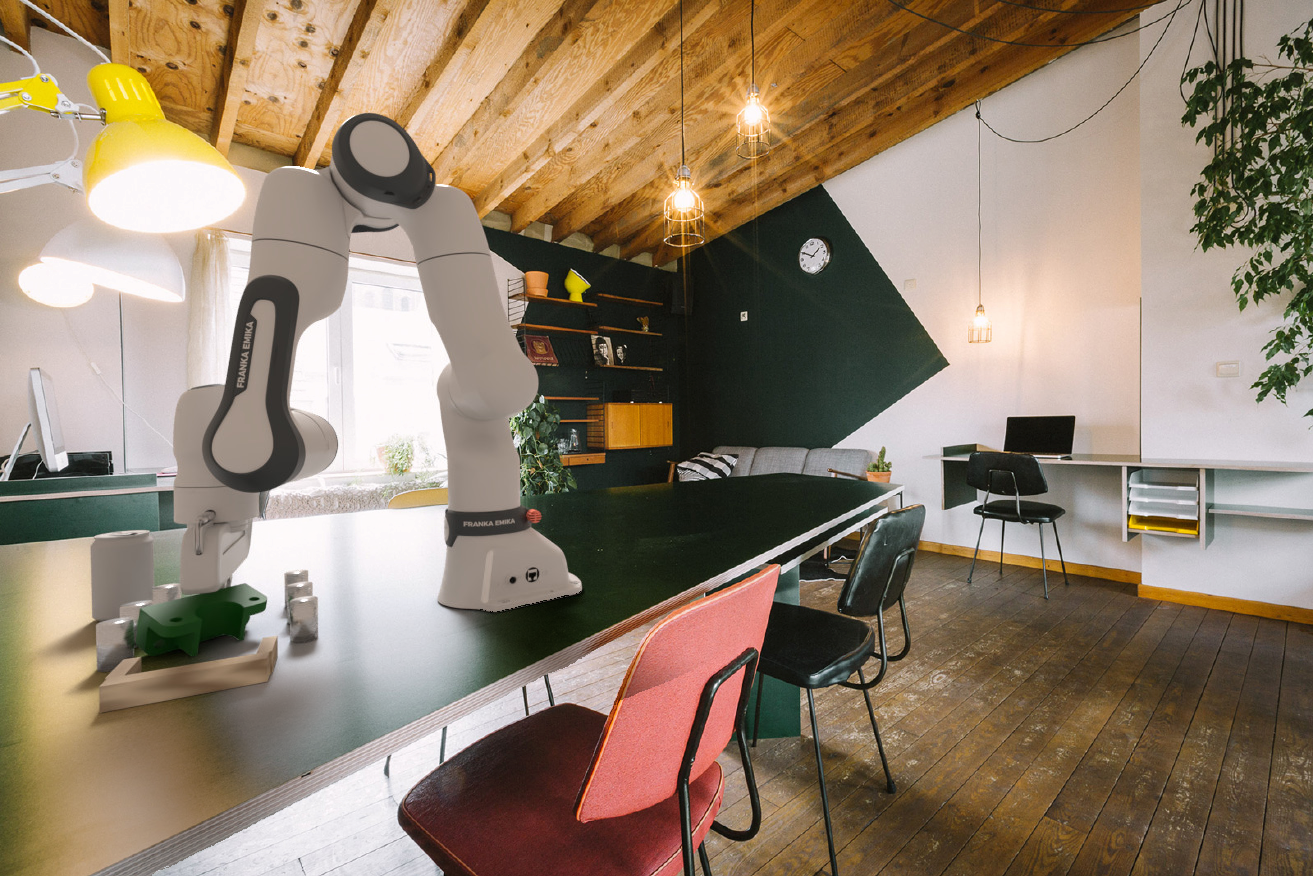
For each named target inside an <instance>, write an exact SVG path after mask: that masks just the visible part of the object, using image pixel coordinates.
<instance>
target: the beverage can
mask: <svg viewBox="0 0 1313 876" xmlns="http://www.w3.org/2000/svg"><path fill="white" fill-rule="evenodd" d="M150 533H151V532H150V530H149V529H148V530H147V529H137V530H136V529H133V530H122V531H112V532H107V533H106V532H105V533H101V534H97V535H95V536H94V537H93V538H94V539H93V540H94V541H93V542H92V544H90V579H91V580H90V583H91V586H90V587H91V618H93V619H94V620H96V621H99V623H100V622H103V621H107V620H111V619H116V618H120V606H121V605H124V604H127V603H131V602H136V601H145V600H150V601H152V588H153V587H155V559H154V557H155V556H154V553H155V551H154V538H153V537H152V536H151V535H150Z"/></svg>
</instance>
